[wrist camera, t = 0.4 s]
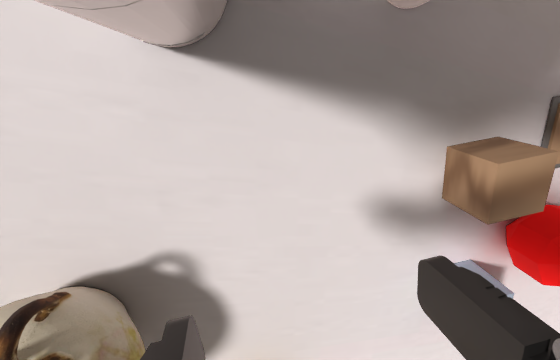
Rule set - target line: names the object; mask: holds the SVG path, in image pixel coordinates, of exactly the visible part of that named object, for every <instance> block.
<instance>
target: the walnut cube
mask: <svg viewBox="0 0 560 360" xmlns="http://www.w3.org/2000/svg"><path fill="white" fill-rule="evenodd" d="M558 154H559V151H556V150H551V149H547V148H543V147H539V146H535V145H531V144H526V143H522V142H518V141H514V140H510V139H506V138H501V137H494V138H489V139H484V140H479V141H474V142H469V143H463V144H458V145H453V146H448V147H447V153H446V163H445V173H444V183H443V193H442V198H443V199H445V200H446V201H448V202H450V203H451V204H453V205H455V206H457V207H458V208H460V209H462V210H463V211H465V212H467V213H469V214H470V215H472V216H474V217H475V218H477V219H479V220H481V221H482V222H484V223H486V224H487V225H488V224H492V223H496V222H500V221H505V220H509V219H513V218H517V217H522V216H526V215H530V214H534V213H538V212H543V211H544V207H545V203H546V199H547V196H548V192H549V188H550V184H551V180H552V177H553V173H554V169H555V165H556V162H557V158H558Z"/></svg>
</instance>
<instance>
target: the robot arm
mask: <svg viewBox="0 0 560 360" xmlns="http://www.w3.org/2000/svg"><path fill="white" fill-rule="evenodd" d="M34 1H37V2H40V3H43V4H45V5H48V6H51V7H53V8H56V9H59V10H61V11H64V12H67V13H70V14H72V15H75V16H78V17H80V18H83V19H86V20H88V21H91V22H94V23H96V24H99V25H102V26H105V27H107V28H110V29H113V30H115V31H118V32H121V33H123V34H126V35H129V36H131V37H134V38H137V39H139V40H141V41H143V42H146V43H149V44H153V45H158V46H163V47H182V46H186V45H190V44H193V43H195V42H197V41H199V40H201V39H202V38H204V37H205V36H206V35H207V34H209V33H210V32H211V31H212V30H213V29H214V28H215V26H216V25H217V23H218V22H219V20H220V19H221V17H222V14H223V12H224V10H225V7H226V4H227V0H34ZM417 295H418V300H419V303H420V305H421V307H422V309H423V311H424V312H425V313H426V314H427V316H428V317H429V318H430V319H431V320H432V321H433V322H434V324H435V325H436V326H437V327H438V328H439V329H440V330H441V332H442V333H443V334H444V335H445V336H446V337H447V338H448V340H449V341H450V342H451V343H452V344H453V345H454V346H455V347H456V349H457V350H458V351H459V352H460V353H461V354H462V355H463V357H464V358H465V359H466V360H560V334H559V333H558V332H557V331H555V330H554V329H553V328H551V327H550V326H549V325H547V324H546V323H545V322H543V321H542V320H540V319H539V318H538V317H536V316H535V315H534V314H532V313H531V312H530V311H528V310H527V309H526V308H524V307H523V306H522V305H520V304H519V303H517V302H516V301H515V300H513V299H512V298H511V297H507V294H505V293H504V292H503V291H501V290H500V289H499V288H495V287H494V285H493V284H492V283H490V282H489V281H488V280H486V279H485V278H484V277H482V276H481V275H480V274H477V273H475V272H473V271H471V270H468V269H466V268H464V267H458V266H456V265H455V264H454V263H452V262H451V261H450V260H449V259H447V258H446V257H444V256H437V257H432V258H428V259H424V260H421V261H420V262H419V265H418V290H417ZM140 360H205V353H204V349H203V345H202V342H201V339H200V336H199V333H198V330H197V326H196V323H195V320H194V318H193V316H192V315H191V316H187V317H182V318H178V319H174V320H170V321H168V322H167V323H166V326H165V330H164V334H163V337H162V341H159V342H155V343H151V344H150V346H149V347H148V349H147V350H146V352H145V353H144V354H143V356H142V357H141V359H140Z"/></svg>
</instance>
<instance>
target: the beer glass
mask: <svg viewBox="0 0 560 360" xmlns="http://www.w3.org/2000/svg"><path fill="white" fill-rule="evenodd" d="M387 1H388V2H389V3H390V4H392V5H393V6H395V7H398V8H402V9H410V8H415V7H418V6H420V5H423V4H424V3H426V2H428V1H429V0H387Z"/></svg>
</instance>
